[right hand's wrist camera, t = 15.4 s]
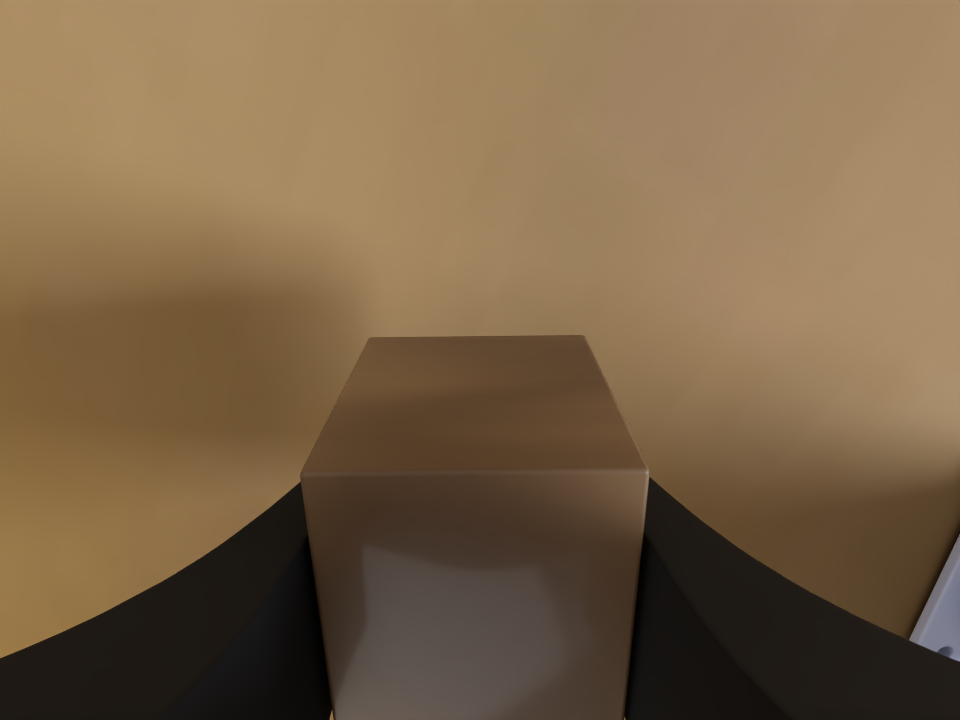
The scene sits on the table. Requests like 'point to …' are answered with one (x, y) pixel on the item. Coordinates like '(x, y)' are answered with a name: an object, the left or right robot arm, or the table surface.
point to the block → (476, 532)
